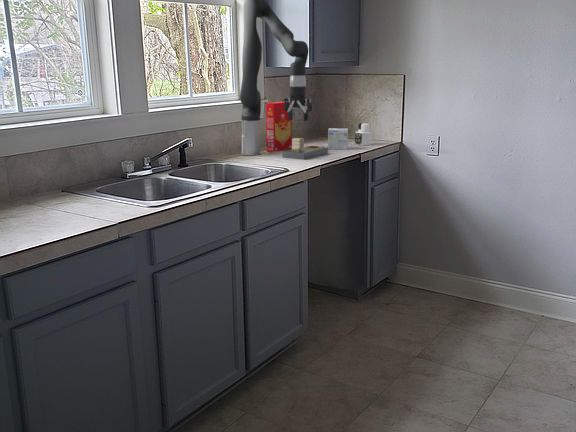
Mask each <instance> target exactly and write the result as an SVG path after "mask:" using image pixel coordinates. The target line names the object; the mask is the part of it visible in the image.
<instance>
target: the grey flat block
mask: <svg viewBox="0 0 576 432" xmlns="http://www.w3.org/2000/svg"><path fill="white" fill-rule="evenodd" d="M328 154H329V149H328V146H327V147H325V146H324V145H323V146H322V145H304V151H303V152H292V149H285V150H282V158H284V159H285V158H286V159H294V160H303V161H305V160H308V159H312V158H316V157H320V156H324V155H328Z"/></svg>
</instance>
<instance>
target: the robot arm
mask: <svg viewBox="0 0 576 432" xmlns="http://www.w3.org/2000/svg"><path fill="white" fill-rule="evenodd" d="M242 5H243V6H242V19H243V20H242V23H243V43H242V44H243V45H242V56H241V57H242V58H241V59H242V61H241V62H242V63H241V65H242V66H241V67H242V69H241V70H242V71H241V72H242V78H241V84H240V86H241V88H240V92H239V100H240V103H241V104H242V112H241V155H242V156H259V155H261V149H262V148H261V110H262V108H261V107H262V104H261V103H262V102H261V101H262V100H261V99H262V98H261V97H262V95H261V93H260V91H259V90H258V76H259V71H260V68H261V63H262V57H263V56H262V54H263V46H262V45H263V44H262V42H261V38H260V36H259V33H258V28H257V18H258V19H259V18H260V19H261V20H262V21H264V22H265V23H266V24H267V25H268V28H269V29H270V32H271V34H272V35H273V37H274V38H275V39H276V40H277V41H278V42H279V43H280V44H281V46H282V47H283V49H284V51H285V52H286V54H288V55H289V56H290V57H292V58H293V57H294V58H295V59H294V61H293V62H291V63H290V67H289V97H285V98H284V110H285V111H287V112H288V119H289V120H292V121H293V119H294V118H293V117H294V116H293V115H294V114H293V111H294V109H295V108H297V109H298V108H299V109H300V110H302V111H303V121H304V122H308V121H309V114H310V112H312V111H313V99H312V98H311V97H310V98H306V97H307V80H306V64H307V61H308V55H309V46H308V44H307V43H306V42H305V41H303V40H295V39H294V37H295V35H294V33H293V32H292V31H291V30H290V29H289V28H288V26H286V25H285V23H284V22H282V21H281V19H280V18H279V17H278V16H277V14H276V13H275V12H274V10H273V9H272V7H271V6H270V4H269V3H268V2H267V1H266V0H244V1H243V4H242ZM289 102H291V105H290V106H289Z"/></svg>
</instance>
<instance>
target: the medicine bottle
mask: <svg viewBox="0 0 576 432" xmlns="http://www.w3.org/2000/svg"><path fill="white" fill-rule="evenodd" d="M354 145H357V146H372V145H373V132H372V131H370V123H368V122H360V123H358V130H357V131H355V133H354Z"/></svg>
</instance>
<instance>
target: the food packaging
mask: <svg viewBox="0 0 576 432" xmlns="http://www.w3.org/2000/svg"><path fill="white" fill-rule="evenodd" d="M284 101H285V100H284ZM284 101H274V102H266V103H265V111H266V112H265V123H266V124H265V126H266V127H265V130H266V133H265V134H266V138H265V139H266V141H265V142H266V152H267V153H275V152H281V151H286V150H290V149H292V139H293V135H292V133H293V132H292V127H293V126H292V124H293V123H292V122H293V120H289V119H288V112H287V111H285V110H284ZM290 105H291V102H289V106H290Z"/></svg>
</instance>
